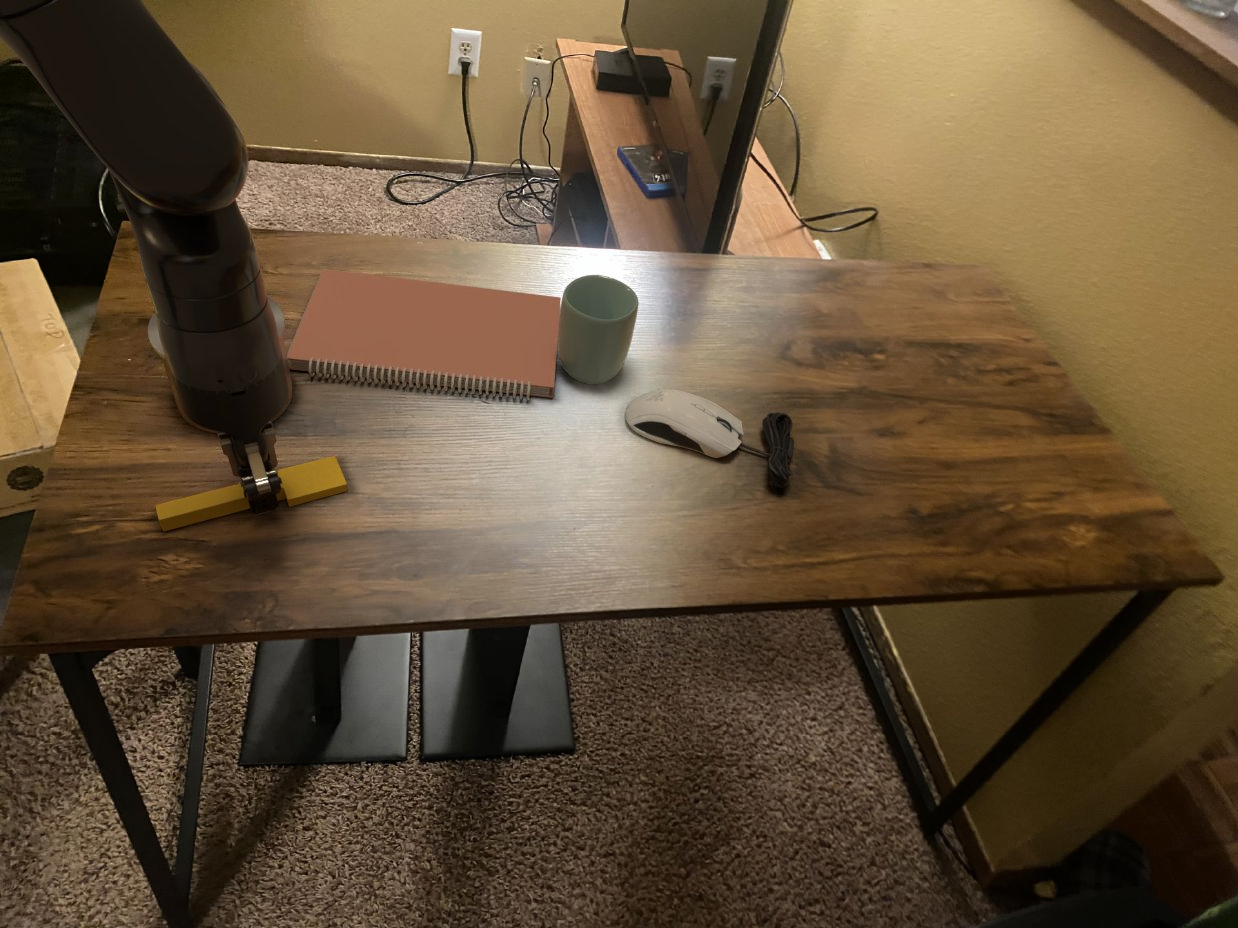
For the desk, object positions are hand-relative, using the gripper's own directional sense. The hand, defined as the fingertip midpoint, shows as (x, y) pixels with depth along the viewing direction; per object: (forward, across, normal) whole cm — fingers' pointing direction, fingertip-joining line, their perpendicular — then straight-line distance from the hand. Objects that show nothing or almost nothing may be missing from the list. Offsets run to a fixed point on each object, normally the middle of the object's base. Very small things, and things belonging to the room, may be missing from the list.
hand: (264, 506), depth 72 cm
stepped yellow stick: (+1, -2, 0) cm, 2 cm away
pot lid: (-7, -16, +1) cm, 17 cm away
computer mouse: (+1, +6, +43) cm, 43 cm away
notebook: (+1, -18, +22) cm, 28 cm away
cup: (+1, -8, +36) cm, 37 cm away
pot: (+1, -16, +1) cm, 16 cm away
